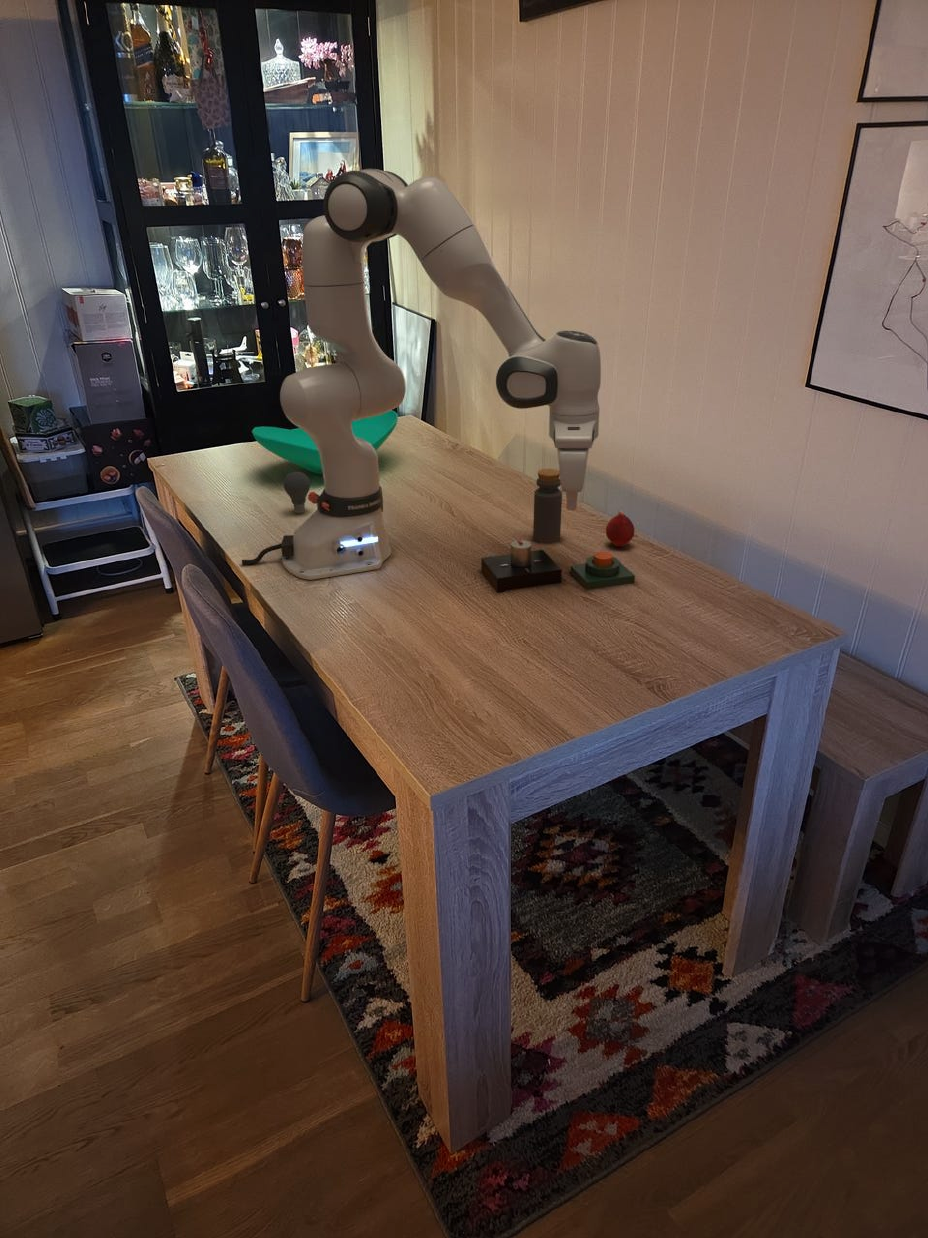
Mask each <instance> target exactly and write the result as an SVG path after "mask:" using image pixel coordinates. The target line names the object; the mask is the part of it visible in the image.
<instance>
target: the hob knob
mask: <svg viewBox="0 0 928 1238" xmlns="http://www.w3.org/2000/svg"><path fill="white" fill-rule="evenodd" d="M532 546H533V544H532V542H530V541H528V540H523V539H521V538H518V539H517V540H513V541H512V542H510V554H511V565H513V566H515V567H527V566H530V565H531V554H532V551H533V549H532V548H533V547H532Z"/></svg>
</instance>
